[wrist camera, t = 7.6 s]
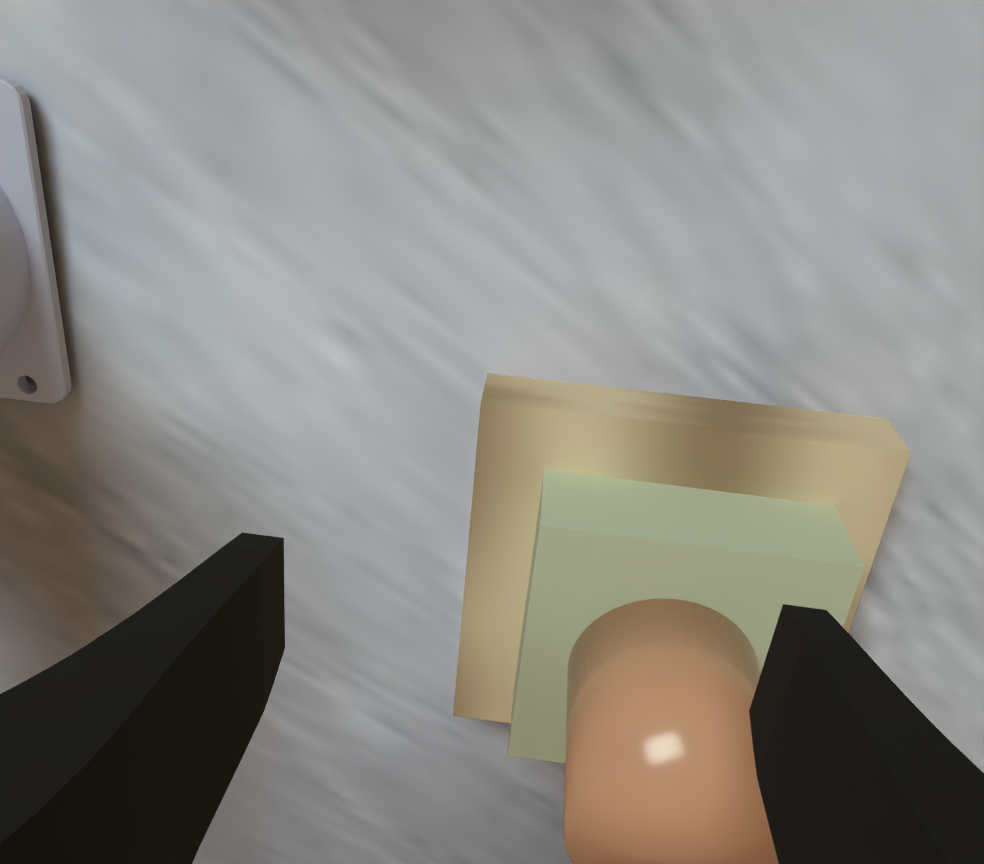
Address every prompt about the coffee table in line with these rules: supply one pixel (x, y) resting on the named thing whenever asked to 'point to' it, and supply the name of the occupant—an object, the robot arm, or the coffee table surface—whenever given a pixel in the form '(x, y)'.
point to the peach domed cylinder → (663, 740)
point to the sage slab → (663, 575)
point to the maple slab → (649, 458)
